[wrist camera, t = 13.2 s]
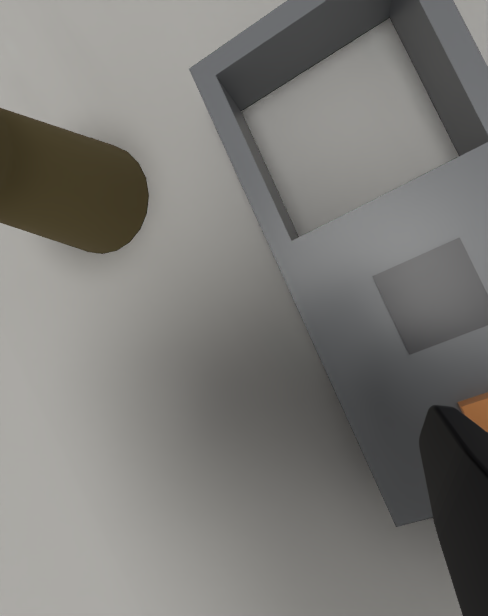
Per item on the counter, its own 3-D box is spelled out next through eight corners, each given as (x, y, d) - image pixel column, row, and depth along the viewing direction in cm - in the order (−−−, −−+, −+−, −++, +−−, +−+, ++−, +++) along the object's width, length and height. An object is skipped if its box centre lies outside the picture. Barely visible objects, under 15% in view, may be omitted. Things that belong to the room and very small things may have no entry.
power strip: (619, 417, 16) (702, 459, 12) (390, 483, 19) (397, 536, 15) (401, -14, 17) (410, -100, 14) (218, 105, 20) (182, 61, 16)
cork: (112, 274, 22) (-110, 263, 12) (40, 216, 24) (-219, 159, 13) (168, 180, 21) (-26, 76, 11) (88, 124, 22) (-156, -20, 12)
